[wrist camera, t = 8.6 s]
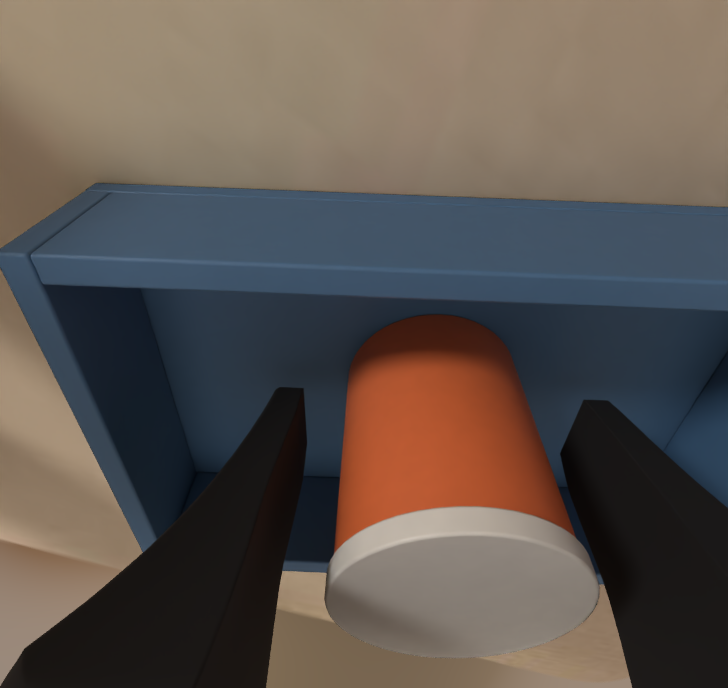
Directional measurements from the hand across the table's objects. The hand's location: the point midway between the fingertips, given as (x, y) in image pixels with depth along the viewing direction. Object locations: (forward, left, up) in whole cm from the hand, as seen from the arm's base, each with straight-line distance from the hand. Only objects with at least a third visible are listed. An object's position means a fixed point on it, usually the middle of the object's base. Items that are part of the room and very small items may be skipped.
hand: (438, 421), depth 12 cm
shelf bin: (0, 0, -2) cm, 2 cm away
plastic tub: (0, 0, -2) cm, 2 cm away
